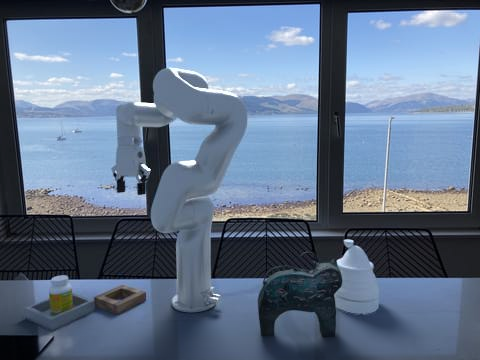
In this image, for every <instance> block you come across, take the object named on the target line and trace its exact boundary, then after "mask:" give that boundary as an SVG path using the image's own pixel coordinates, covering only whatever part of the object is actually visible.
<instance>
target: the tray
mask: <svg viewBox="0 0 480 360" xmlns="http://www.w3.org/2000/svg"><path fill="white" fill-rule="evenodd" d="M72 299H73V308H72V309H70V310H67V311H65V312H63V313H61V314H58V315H56V316H54V317H52V316H51V313H50V298H49V297H48V298H47V299H44V300H40V301H38V302H36V303H33V304H31V305H28V306H25V307H24V315H25V317H24V318H25V319H26V320H27V321H29V322H32V323H34V324H36V325H38V326H39V327H42V328H43V329H46V330H48V331H51V332H53V331H56V330H58V329H60V328H61V327H64V326H66V325H70V324H71V323H73V322H75V321H78V320H79V319H81V318H83V317H85V316H88V315H89V314H92V313H94V312H95V311H96V306H95V304H94V299H91V298H88V297H85V296H82V295H80V294H78V293H74V292H72Z"/></svg>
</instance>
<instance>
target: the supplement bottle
mask: <svg viewBox="0 0 480 360" xmlns="http://www.w3.org/2000/svg"><path fill="white" fill-rule="evenodd" d="M50 281H51V286H50V287H49V289H48V293H49V295H48V296H49V297H48V298H50V313H51V316H52V317H54V316H56V315H58V314H61V313H63V312H65V311H67V310H70V309H72V308H73V299H72V293H73V286H72V284H71V283H69V276H68V275H65V274H64V275H63V274H62V275H56V276H54V277H52V278H51V280H50Z"/></svg>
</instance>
